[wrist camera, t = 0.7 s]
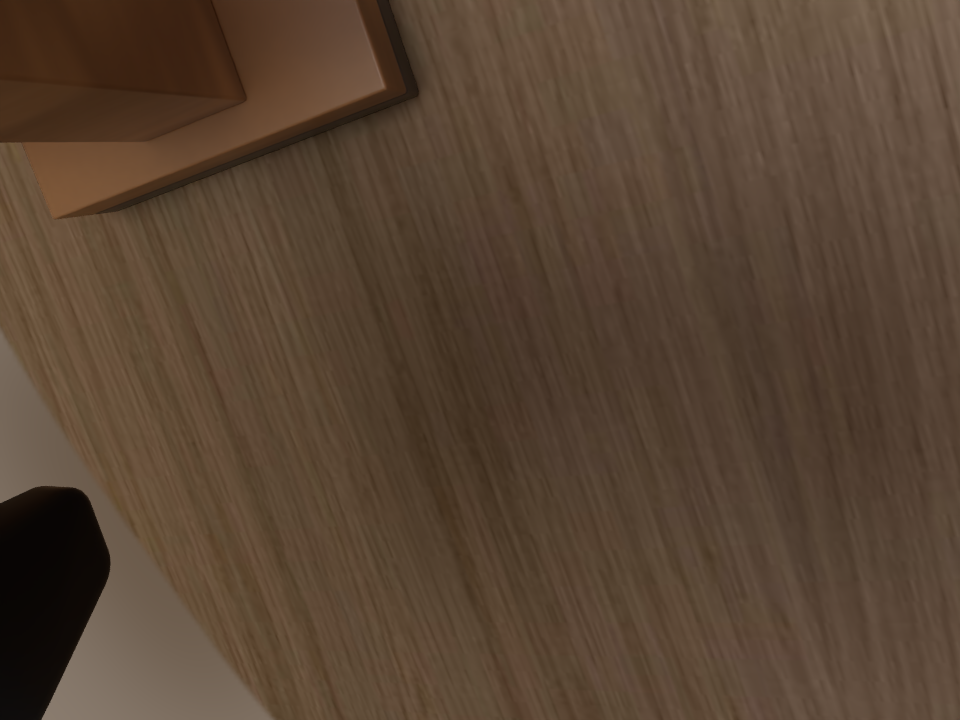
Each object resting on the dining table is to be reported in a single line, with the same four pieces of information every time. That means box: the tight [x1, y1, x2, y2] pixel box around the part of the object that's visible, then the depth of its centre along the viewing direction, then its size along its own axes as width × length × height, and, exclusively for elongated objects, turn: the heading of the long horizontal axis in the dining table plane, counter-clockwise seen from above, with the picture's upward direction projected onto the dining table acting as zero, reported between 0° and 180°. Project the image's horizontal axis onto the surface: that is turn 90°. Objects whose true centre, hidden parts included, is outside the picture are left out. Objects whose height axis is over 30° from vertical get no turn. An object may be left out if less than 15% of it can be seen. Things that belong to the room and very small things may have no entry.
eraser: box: [0, 0, 418, 219], centre depth 16 cm, size 4×9×13 cm, turn 109°
